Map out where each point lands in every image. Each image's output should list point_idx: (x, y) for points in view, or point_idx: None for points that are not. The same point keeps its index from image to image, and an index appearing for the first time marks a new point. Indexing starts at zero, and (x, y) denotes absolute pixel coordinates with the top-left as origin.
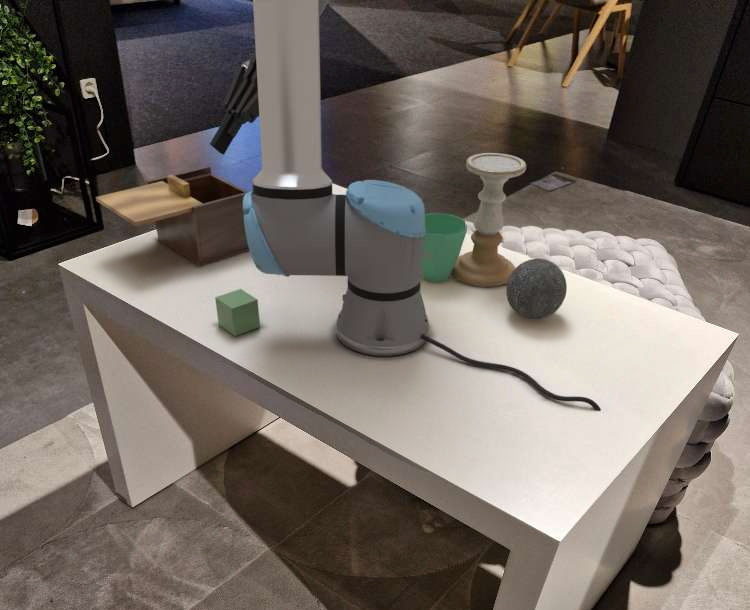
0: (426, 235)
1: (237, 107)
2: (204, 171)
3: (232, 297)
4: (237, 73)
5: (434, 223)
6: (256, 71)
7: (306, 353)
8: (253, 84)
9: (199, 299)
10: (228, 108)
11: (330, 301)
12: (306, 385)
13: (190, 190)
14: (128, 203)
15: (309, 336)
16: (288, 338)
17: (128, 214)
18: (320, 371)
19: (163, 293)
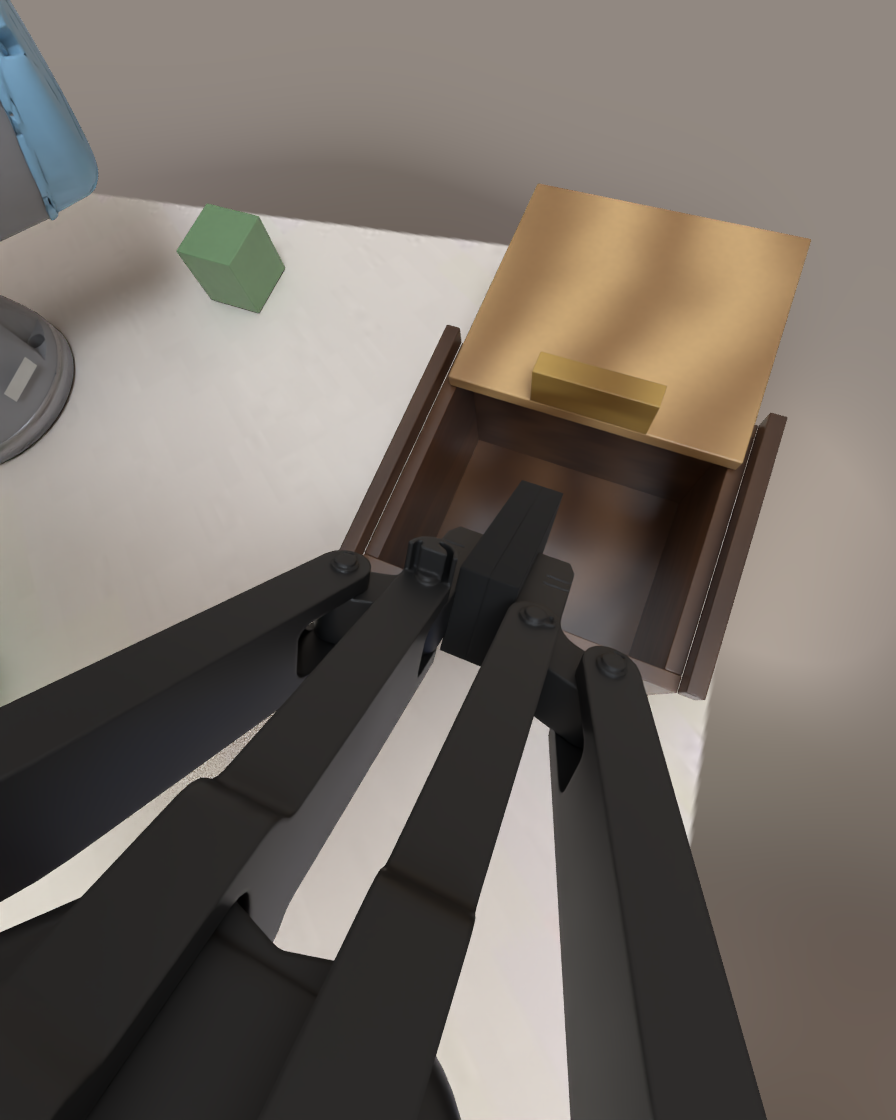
0: None
1: (432, 609)
2: (691, 659)
3: (225, 231)
4: (709, 1109)
5: None
6: (145, 945)
7: (102, 277)
8: (253, 775)
9: (375, 317)
10: (531, 614)
11: (121, 444)
12: (74, 214)
13: (681, 581)
14: (668, 258)
15: (116, 319)
16: (148, 296)
17: (598, 206)
18: (65, 250)
19: (459, 299)
